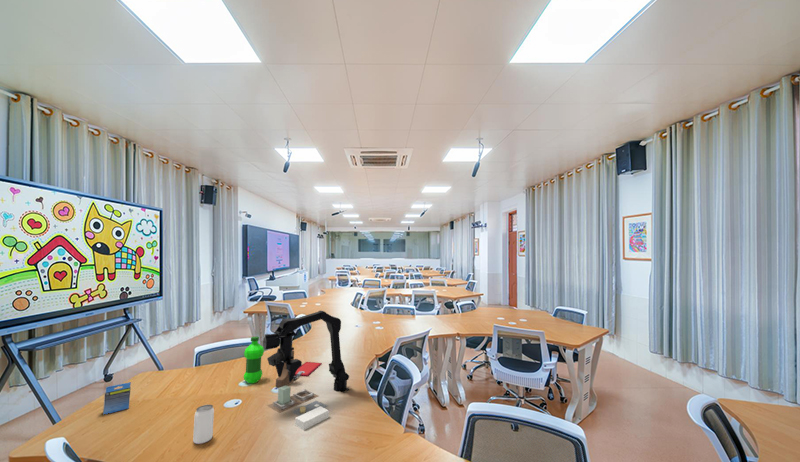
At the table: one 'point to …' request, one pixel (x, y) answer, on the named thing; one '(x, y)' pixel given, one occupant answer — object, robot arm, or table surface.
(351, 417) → the table surface
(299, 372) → the red board with handle
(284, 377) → the wooden block
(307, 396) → the build board
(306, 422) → the cover
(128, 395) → the label tape box
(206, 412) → the can
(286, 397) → the peg
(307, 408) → the board
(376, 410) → the table surface
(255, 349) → the plastic bottle
